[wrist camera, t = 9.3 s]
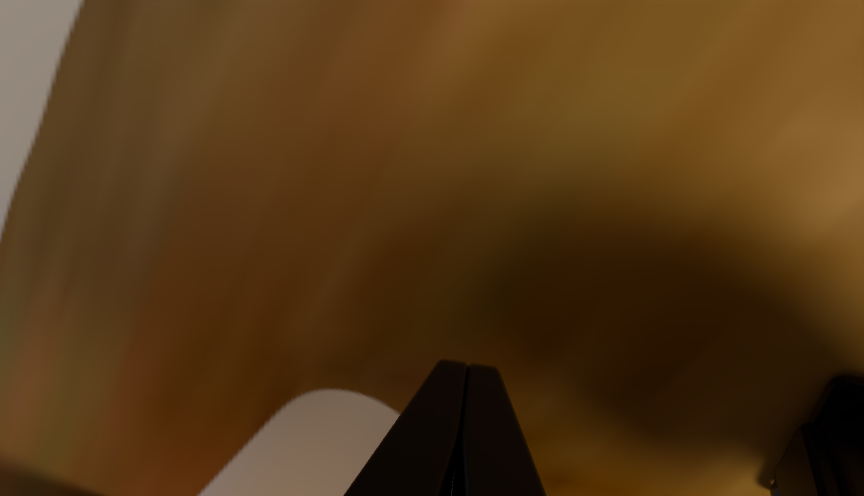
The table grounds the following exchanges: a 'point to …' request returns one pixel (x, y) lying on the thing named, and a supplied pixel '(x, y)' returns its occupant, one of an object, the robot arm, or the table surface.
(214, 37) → the table surface
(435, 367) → the robot arm
